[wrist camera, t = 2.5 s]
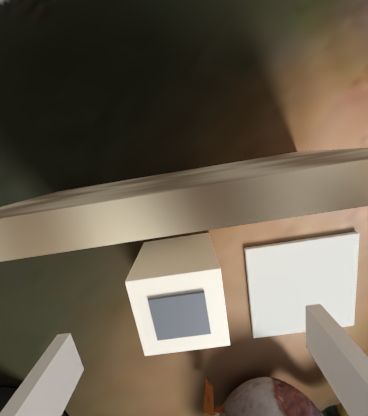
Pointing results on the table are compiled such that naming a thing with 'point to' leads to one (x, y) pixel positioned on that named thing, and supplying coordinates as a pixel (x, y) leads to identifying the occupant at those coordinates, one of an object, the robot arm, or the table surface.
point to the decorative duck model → (266, 400)
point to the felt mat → (301, 282)
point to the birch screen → (185, 202)
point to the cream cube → (178, 295)
